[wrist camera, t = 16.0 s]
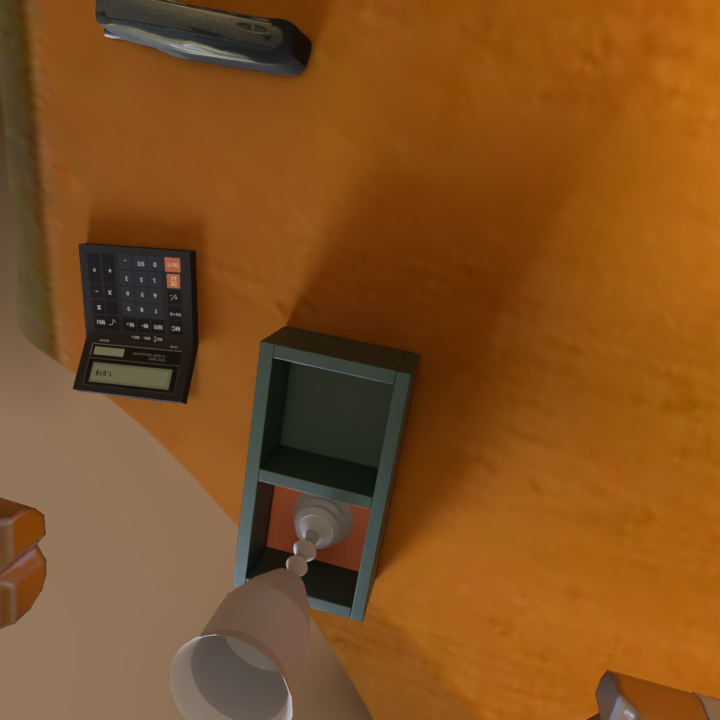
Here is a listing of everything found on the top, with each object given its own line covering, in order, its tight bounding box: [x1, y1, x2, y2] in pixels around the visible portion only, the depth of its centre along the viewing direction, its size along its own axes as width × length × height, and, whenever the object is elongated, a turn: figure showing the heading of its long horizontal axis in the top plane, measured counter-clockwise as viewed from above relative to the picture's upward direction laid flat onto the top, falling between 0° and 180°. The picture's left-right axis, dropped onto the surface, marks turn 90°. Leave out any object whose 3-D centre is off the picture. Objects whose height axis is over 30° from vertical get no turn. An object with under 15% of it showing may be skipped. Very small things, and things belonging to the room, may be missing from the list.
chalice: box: [169, 492, 353, 720], centre depth 38 cm, size 7×7×18 cm
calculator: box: [73, 243, 198, 404], centre depth 45 cm, size 9×12×3 cm
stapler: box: [96, 0, 311, 76], centre depth 38 cm, size 5×3×15 cm
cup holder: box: [233, 326, 420, 622], centre depth 44 cm, size 10×20×5 cm, turn 170°
